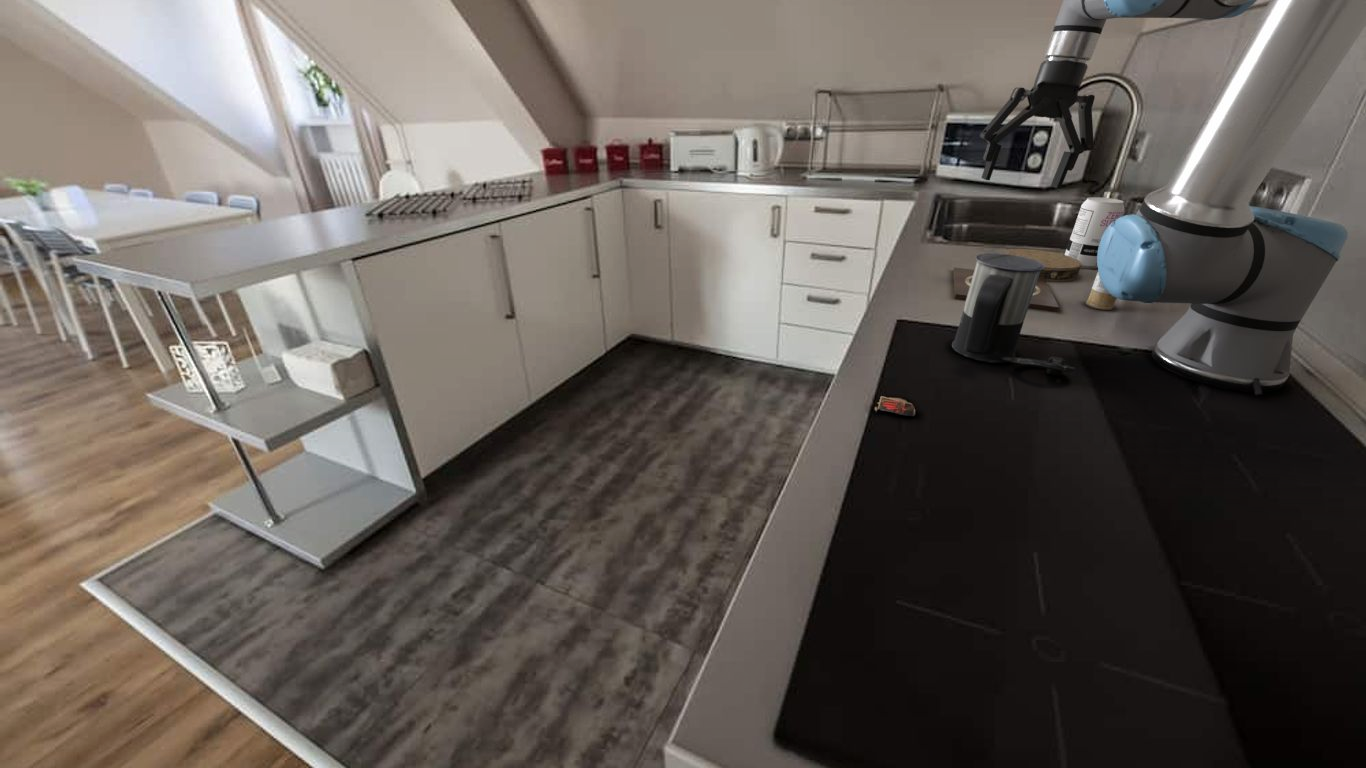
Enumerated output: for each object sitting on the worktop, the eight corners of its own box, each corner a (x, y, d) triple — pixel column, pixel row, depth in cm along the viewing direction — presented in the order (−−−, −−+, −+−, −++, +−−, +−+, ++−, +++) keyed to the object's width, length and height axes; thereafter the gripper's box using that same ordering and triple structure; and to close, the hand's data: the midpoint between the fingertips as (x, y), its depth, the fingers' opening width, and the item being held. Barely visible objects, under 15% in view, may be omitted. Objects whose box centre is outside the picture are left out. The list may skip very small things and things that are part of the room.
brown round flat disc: (986, 260, 136) (990, 248, 135) (1052, 262, 136) (1056, 249, 134) (1018, 280, 122) (1022, 267, 121) (1092, 282, 122) (1097, 269, 120)
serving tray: (1057, 312, 105) (1059, 306, 105) (954, 298, 111) (956, 293, 111) (1042, 282, 122) (1044, 277, 121) (953, 271, 128) (954, 266, 127)
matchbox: (917, 418, 71) (918, 414, 70) (876, 414, 71) (876, 411, 71) (910, 400, 75) (910, 396, 74) (870, 396, 75) (871, 393, 75)
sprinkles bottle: (1118, 308, 107) (1146, 238, 101) (1103, 312, 106) (1132, 241, 99) (1093, 301, 111) (1119, 233, 105) (1079, 304, 109) (1105, 235, 103)
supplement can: (1069, 257, 139) (1091, 195, 132) (1107, 265, 134) (1132, 200, 127) (1056, 263, 135) (1078, 199, 128) (1095, 271, 129) (1120, 204, 122)
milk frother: (950, 336, 94) (973, 249, 87) (1056, 351, 89) (1089, 260, 82) (953, 371, 83) (980, 274, 76) (1075, 391, 78) (1116, 289, 71)
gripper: (1125, 68, 103) (1076, 187, 114) (988, 54, 105) (951, 173, 116) (1149, 68, 97) (1094, 194, 107) (1002, 53, 99) (962, 178, 109)
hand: (1020, 183), depth 111 cm, fingers open, 13 cm apart
